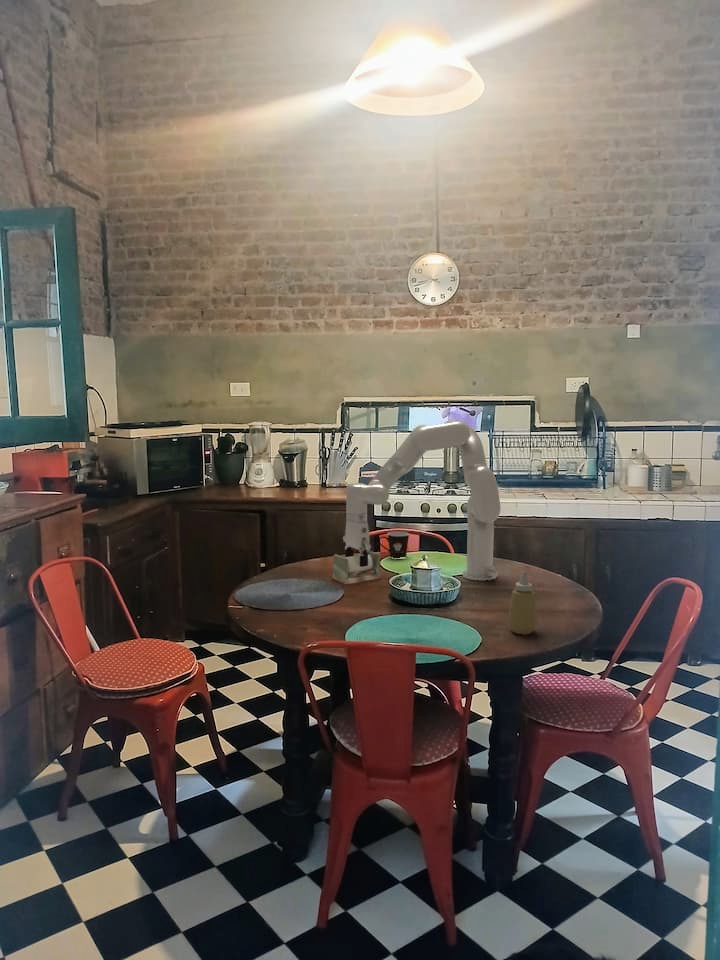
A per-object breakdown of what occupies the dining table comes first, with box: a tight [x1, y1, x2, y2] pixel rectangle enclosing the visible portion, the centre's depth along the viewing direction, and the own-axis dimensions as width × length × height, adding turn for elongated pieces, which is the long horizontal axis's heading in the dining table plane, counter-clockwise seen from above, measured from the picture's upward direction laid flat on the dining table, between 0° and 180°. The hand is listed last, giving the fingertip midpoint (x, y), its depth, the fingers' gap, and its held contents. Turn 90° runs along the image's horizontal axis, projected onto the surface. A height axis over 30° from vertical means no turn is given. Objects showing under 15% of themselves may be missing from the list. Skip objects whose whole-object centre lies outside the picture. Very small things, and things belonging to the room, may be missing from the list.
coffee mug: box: [378, 531, 410, 558], centre depth 302 cm, size 12×9×10 cm
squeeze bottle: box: [508, 570, 537, 635], centre depth 215 cm, size 8×8×18 cm
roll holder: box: [332, 550, 381, 585], centre depth 271 cm, size 15×9×9 cm, turn 123°
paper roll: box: [343, 554, 373, 573], centre depth 271 cm, size 10×6×6 cm, turn 122°
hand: (356, 563), depth 271 cm, fingers open, 9 cm apart
